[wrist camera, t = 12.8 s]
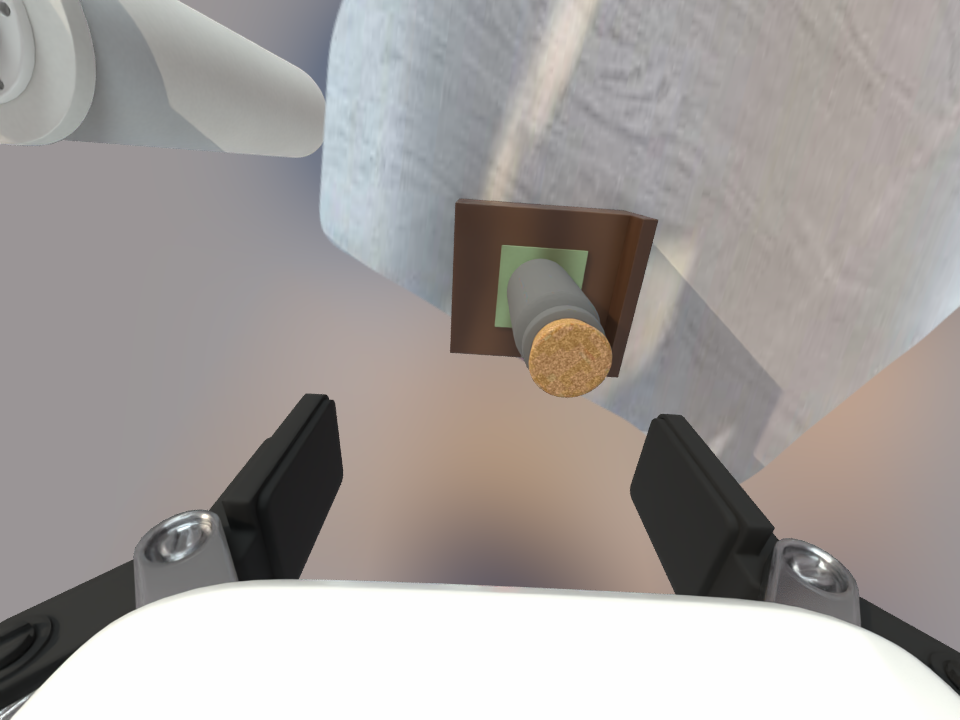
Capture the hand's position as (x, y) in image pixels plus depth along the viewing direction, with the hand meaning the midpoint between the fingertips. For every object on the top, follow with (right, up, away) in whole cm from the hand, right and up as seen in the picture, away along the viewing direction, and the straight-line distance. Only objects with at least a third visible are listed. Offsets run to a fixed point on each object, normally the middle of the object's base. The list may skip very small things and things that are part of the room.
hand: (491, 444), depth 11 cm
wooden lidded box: (+5, +11, +28) cm, 31 cm away
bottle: (+5, +9, +24) cm, 26 cm away
